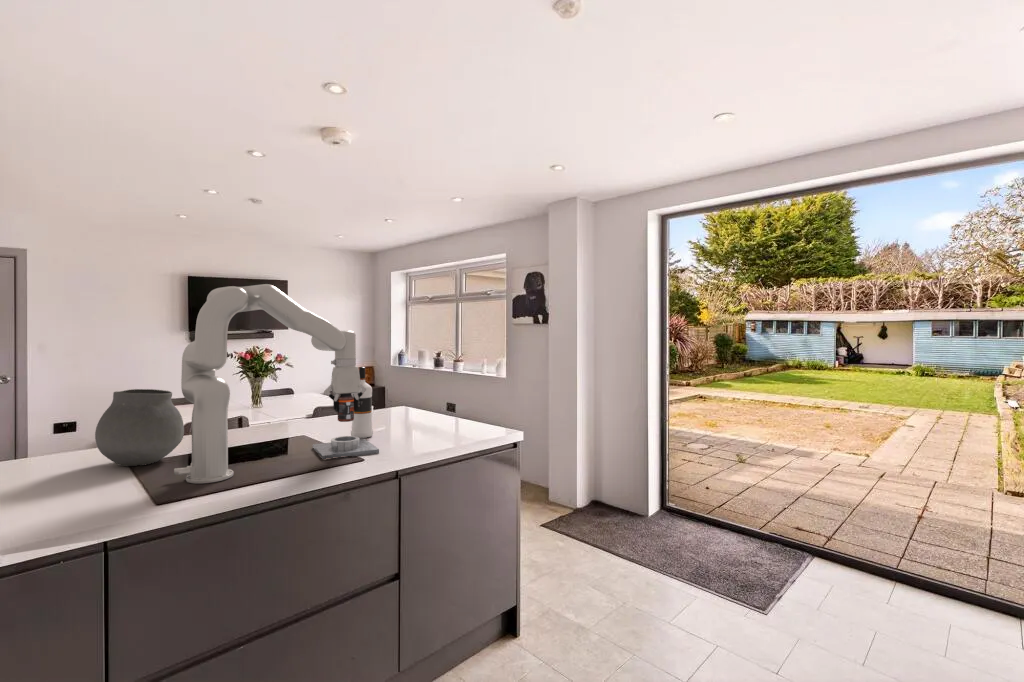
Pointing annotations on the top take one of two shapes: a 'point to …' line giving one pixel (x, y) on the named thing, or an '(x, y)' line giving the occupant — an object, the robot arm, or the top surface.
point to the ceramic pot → (139, 427)
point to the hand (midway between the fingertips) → (345, 410)
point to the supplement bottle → (346, 408)
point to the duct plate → (345, 447)
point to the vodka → (363, 411)
